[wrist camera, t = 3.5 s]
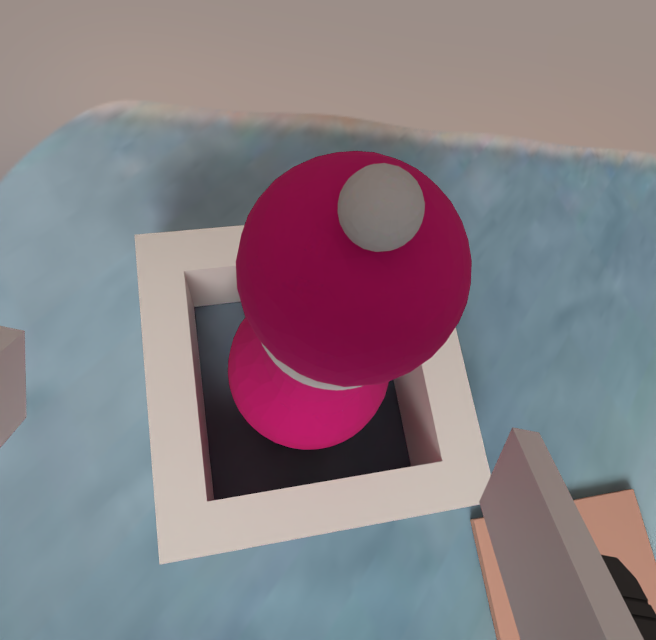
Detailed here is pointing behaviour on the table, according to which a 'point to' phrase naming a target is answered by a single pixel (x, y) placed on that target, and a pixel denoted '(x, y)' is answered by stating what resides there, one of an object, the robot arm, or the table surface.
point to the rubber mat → (609, 536)
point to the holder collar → (294, 502)
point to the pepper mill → (342, 293)
